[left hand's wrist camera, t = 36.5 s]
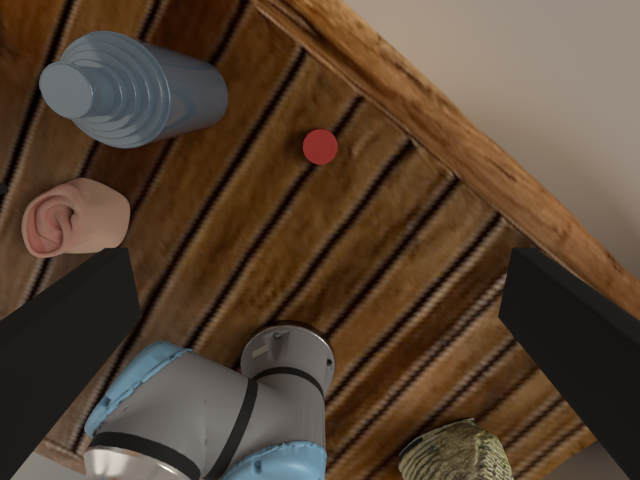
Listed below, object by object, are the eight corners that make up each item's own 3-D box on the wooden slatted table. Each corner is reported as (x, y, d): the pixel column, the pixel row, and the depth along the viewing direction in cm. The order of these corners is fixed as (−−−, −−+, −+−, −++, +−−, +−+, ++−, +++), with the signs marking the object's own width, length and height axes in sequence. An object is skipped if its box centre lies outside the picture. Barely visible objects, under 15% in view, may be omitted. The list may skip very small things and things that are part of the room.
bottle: (232, 66, 45) (137, 33, 21) (223, 135, 48) (132, 172, 24) (163, 49, 44) (-12, -4, 21) (158, 120, 47) (1, 144, 24)
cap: (320, 120, 47) (320, 121, 45) (344, 146, 48) (345, 147, 46) (296, 145, 48) (295, 146, 46) (319, 169, 49) (319, 172, 48)
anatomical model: (112, 188, 46) (122, 269, 50) (127, 181, 50) (135, 258, 54) (4, 178, 45) (23, 262, 50) (28, 172, 49) (44, 250, 53)
